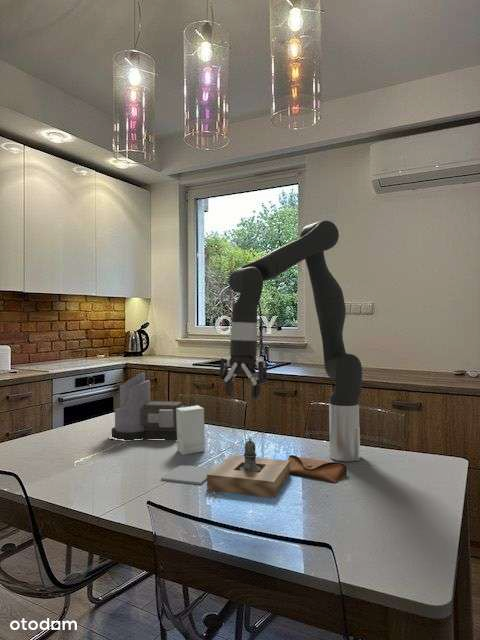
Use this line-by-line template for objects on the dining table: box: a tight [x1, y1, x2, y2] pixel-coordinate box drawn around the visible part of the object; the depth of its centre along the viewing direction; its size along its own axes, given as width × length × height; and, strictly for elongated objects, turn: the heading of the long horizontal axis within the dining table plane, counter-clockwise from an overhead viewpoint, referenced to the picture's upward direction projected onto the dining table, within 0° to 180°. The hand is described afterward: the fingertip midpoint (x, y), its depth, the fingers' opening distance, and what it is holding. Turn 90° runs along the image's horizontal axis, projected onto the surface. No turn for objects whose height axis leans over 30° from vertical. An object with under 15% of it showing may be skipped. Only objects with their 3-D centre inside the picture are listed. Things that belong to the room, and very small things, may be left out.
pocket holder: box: [206, 454, 291, 499], centre depth 126 cm, size 18×18×4 cm
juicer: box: [111, 372, 185, 440], centre depth 177 cm, size 30×16×24 cm, turn 82°
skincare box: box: [176, 404, 206, 456], centre depth 155 cm, size 8×6×15 cm
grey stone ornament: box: [239, 437, 261, 473], centre depth 126 cm, size 6×6×12 cm
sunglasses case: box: [287, 454, 348, 484], centre depth 132 cm, size 18×7×7 cm
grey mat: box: [160, 464, 215, 486], centre depth 131 cm, size 12×12×1 cm
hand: (241, 396), depth 129 cm, fingers open, 8 cm apart
